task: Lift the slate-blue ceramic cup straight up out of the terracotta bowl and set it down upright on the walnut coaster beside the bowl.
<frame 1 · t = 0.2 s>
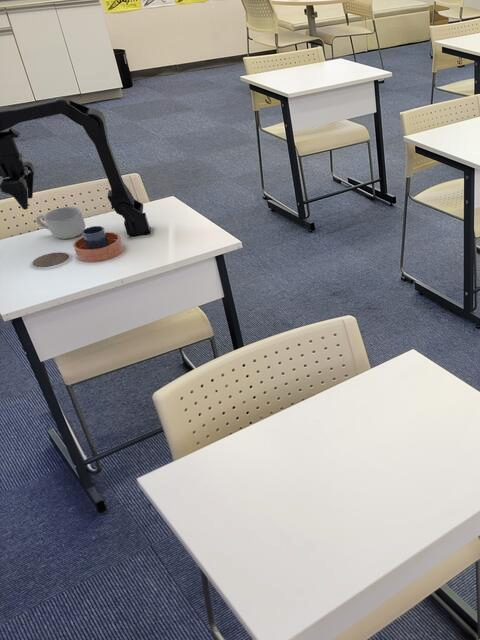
hand: (28, 203, 213), 15 cm above the table, tool pointing down, fingers open, 9 cm apart
cup: (100, 252, 217), point 1 cm above the table, touching bowl
bowl: (101, 254, 217), on the table
coaster: (51, 261, 213), on the table
teacup: (66, 236, 228), on the table
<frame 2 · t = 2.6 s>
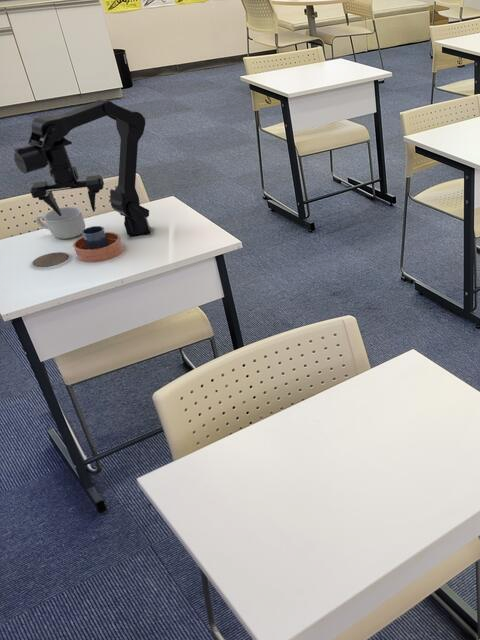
hand: (77, 213, 210), 13 cm above the table, tool pointing down, fingers open, 9 cm apart
nothing on the table moved.
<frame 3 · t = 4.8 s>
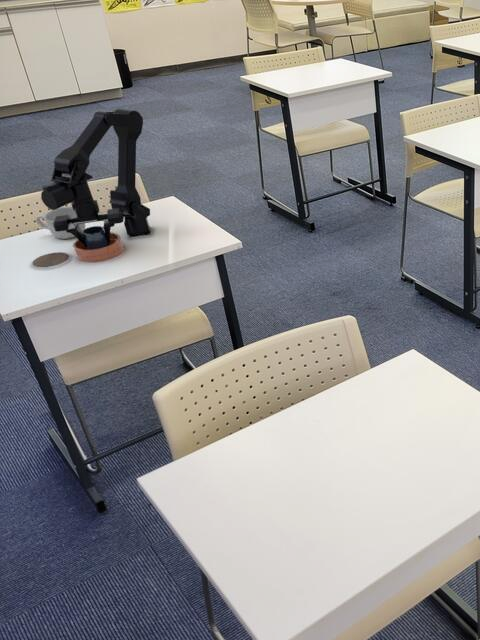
hand: (98, 245, 215), 3 cm above the table, tool pointing down, fingers closed on cup, 6 cm apart
cup: (100, 252, 217), point 1 cm above the table, touching bowl, gripper
everything else where it was.
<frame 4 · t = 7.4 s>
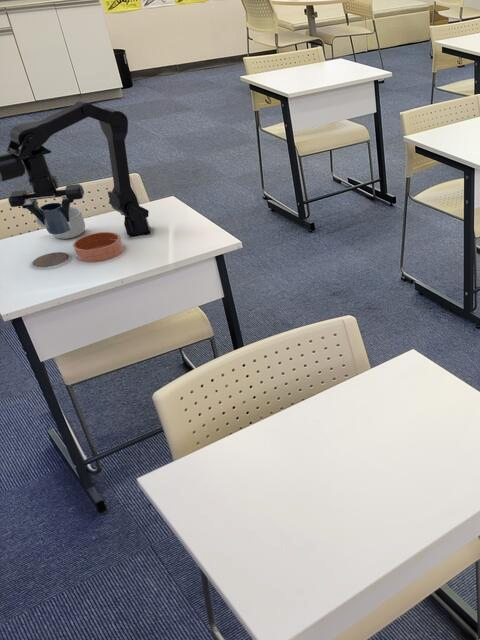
hand: (57, 222, 207), 12 cm above the table, tool pointing down, fingers closed on cup, 6 cm apart
cup: (59, 230, 209), point 10 cm above the table, touching gripper
everything else where it was.
when the fingers open (3 cm above the table, at t = 10.4 s): cup stays where it is, resting on coaster.
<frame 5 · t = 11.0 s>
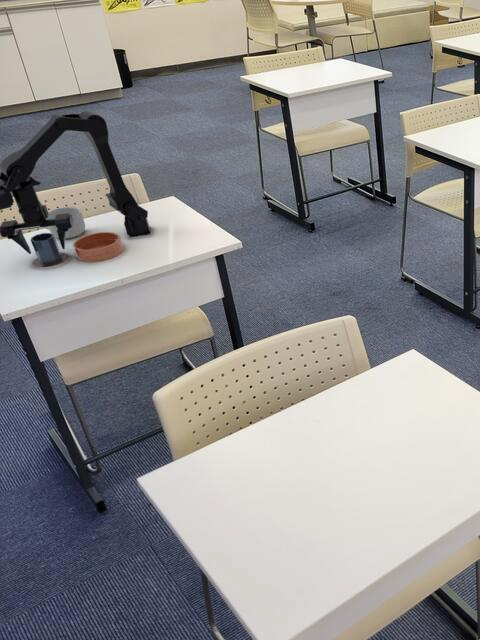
hand: (47, 251, 211), 4 cm above the table, tool pointing down, fingers open, 9 cm apart
cup: (51, 259, 213), point 1 cm above the table, touching coaster
everything else where it was.
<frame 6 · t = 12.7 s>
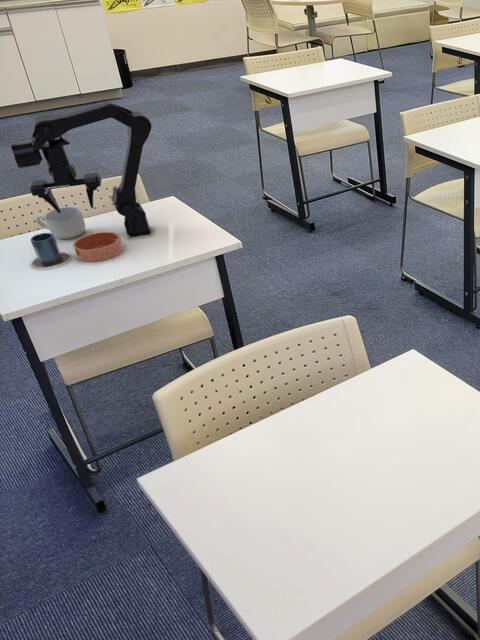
hand: (76, 210, 216), 12 cm above the table, tool pointing down, fingers open, 9 cm apart
nothing on the table moved.
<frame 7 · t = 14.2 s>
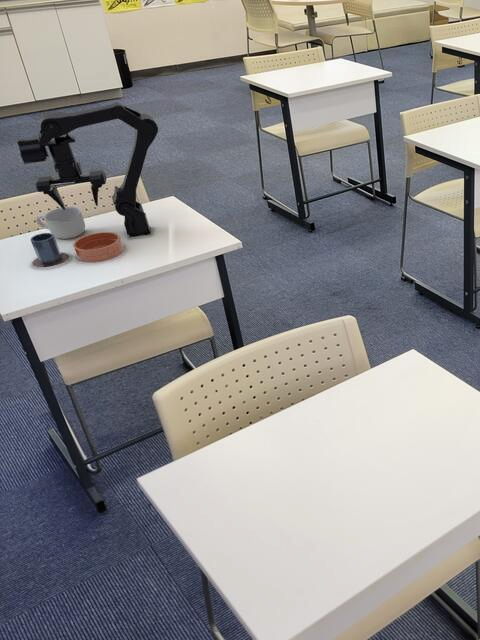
hand: (81, 207, 217), 12 cm above the table, tool pointing down, fingers open, 9 cm apart
nothing on the table moved.
at the end: cup touching coaster; cup 0.0 cm off-centre on the coaster, point 0.6 cm above the coaster's base; cup tilted 0° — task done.
